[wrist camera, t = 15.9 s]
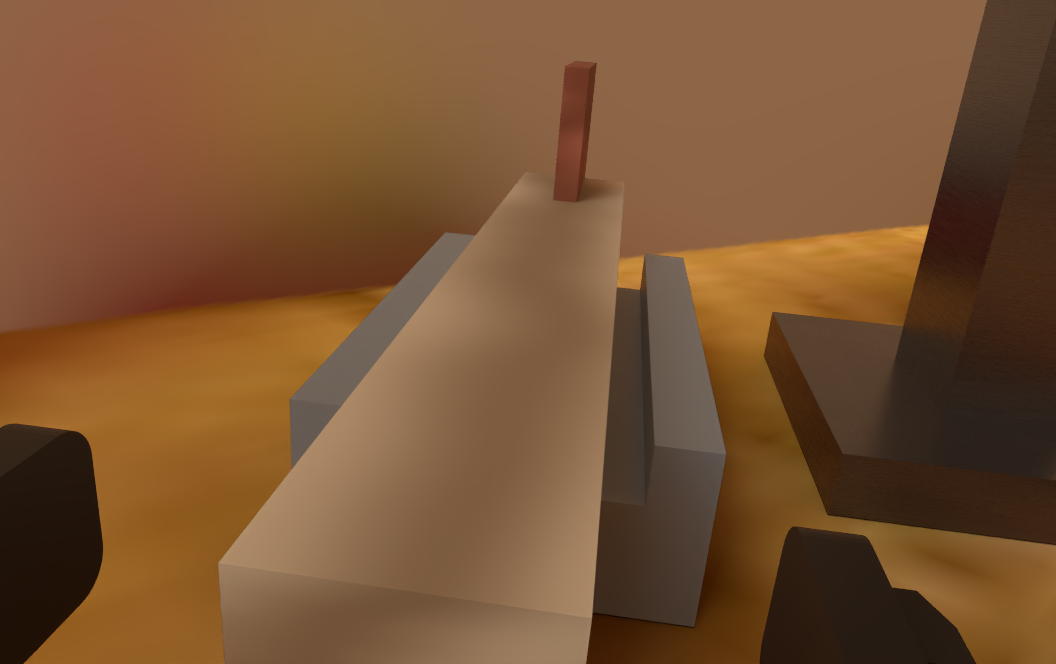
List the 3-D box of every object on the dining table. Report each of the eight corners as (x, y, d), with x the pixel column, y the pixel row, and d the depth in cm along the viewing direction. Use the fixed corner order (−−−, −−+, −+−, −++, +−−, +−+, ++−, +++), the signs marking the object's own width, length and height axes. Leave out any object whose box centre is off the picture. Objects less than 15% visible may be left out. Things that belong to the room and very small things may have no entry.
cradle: (294, 569, 20) (289, 399, 18) (440, 336, 34) (445, 232, 33) (694, 627, 19) (726, 454, 17) (667, 363, 34) (683, 257, 32)
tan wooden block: (235, 831, 10) (191, 144, 7) (517, 267, 34) (534, 57, 31) (556, 888, 10) (647, 191, 7) (613, 278, 34) (638, 66, 31)
